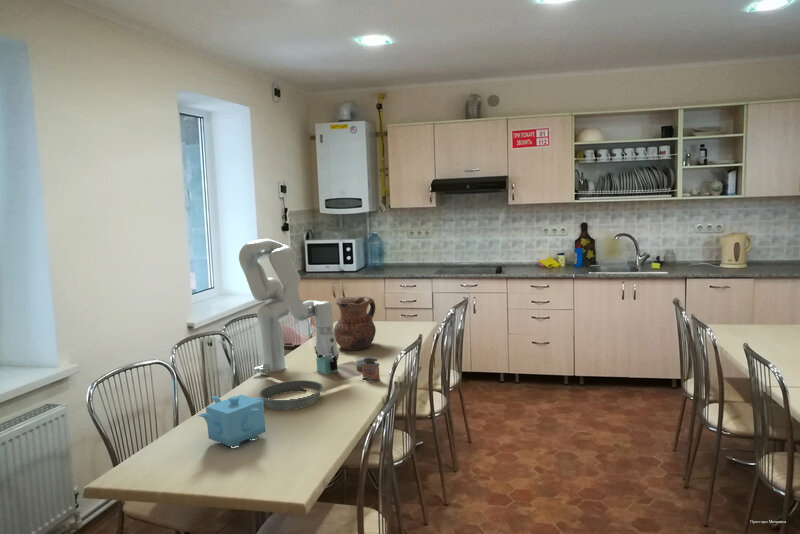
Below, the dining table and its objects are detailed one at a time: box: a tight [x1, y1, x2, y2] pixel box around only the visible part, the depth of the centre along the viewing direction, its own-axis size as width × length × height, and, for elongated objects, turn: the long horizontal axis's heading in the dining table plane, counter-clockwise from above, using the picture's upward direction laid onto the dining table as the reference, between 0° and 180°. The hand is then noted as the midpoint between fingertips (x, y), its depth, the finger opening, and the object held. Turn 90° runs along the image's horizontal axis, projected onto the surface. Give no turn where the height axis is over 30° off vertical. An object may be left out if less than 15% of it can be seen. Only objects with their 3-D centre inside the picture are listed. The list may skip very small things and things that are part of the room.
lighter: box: [362, 356, 381, 383], centre depth 257 cm, size 8×3×10 cm, turn 62°
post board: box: [312, 358, 365, 382], centre depth 268 cm, size 22×20×6 cm
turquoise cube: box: [315, 356, 338, 375], centre depth 268 cm, size 6×6×6 cm
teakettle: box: [197, 394, 267, 448], centre depth 201 cm, size 19×19×15 cm
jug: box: [333, 296, 377, 351], centre depth 312 cm, size 22×21×25 cm
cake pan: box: [258, 379, 324, 411], centre depth 238 cm, size 25×25×4 cm
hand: (327, 368), depth 268 cm, fingers open, 9 cm apart
